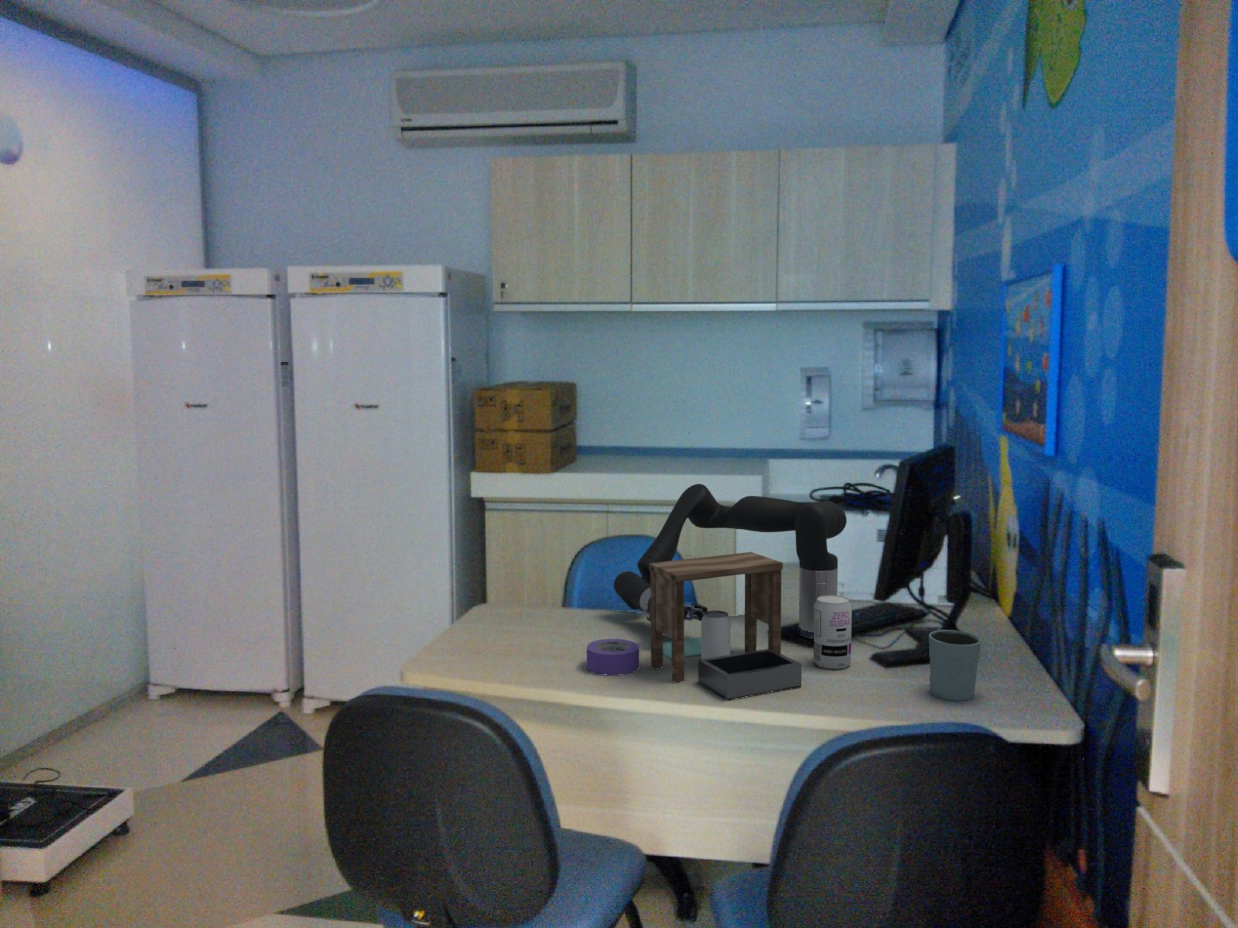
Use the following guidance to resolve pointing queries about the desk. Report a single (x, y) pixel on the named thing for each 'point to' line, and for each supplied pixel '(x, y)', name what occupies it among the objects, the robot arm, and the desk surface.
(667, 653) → the pad
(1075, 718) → the desk surface
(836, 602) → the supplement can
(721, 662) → the box
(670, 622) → the small wooden table
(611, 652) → the tape roll
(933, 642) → the grey green cup
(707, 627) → the can
